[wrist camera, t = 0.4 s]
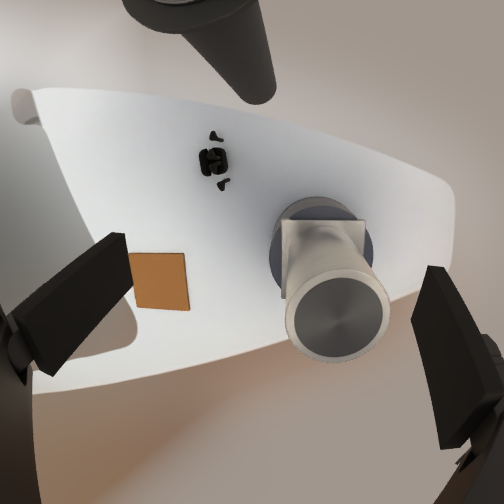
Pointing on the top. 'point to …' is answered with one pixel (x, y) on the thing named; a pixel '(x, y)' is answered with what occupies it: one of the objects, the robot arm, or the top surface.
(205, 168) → the wireless earbuds
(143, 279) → the mat
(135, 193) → the top surface
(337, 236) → the cup
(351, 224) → the navy cylinder with lid
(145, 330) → the top surface
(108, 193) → the top surface
